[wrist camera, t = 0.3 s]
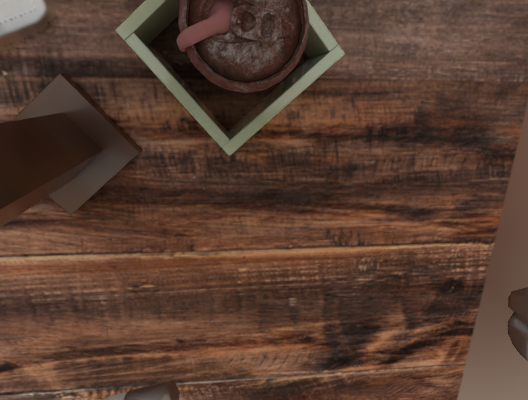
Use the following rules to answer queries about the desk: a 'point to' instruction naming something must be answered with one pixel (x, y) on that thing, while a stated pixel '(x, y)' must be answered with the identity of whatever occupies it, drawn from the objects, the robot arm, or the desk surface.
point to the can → (243, 40)
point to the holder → (139, 37)
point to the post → (59, 150)
